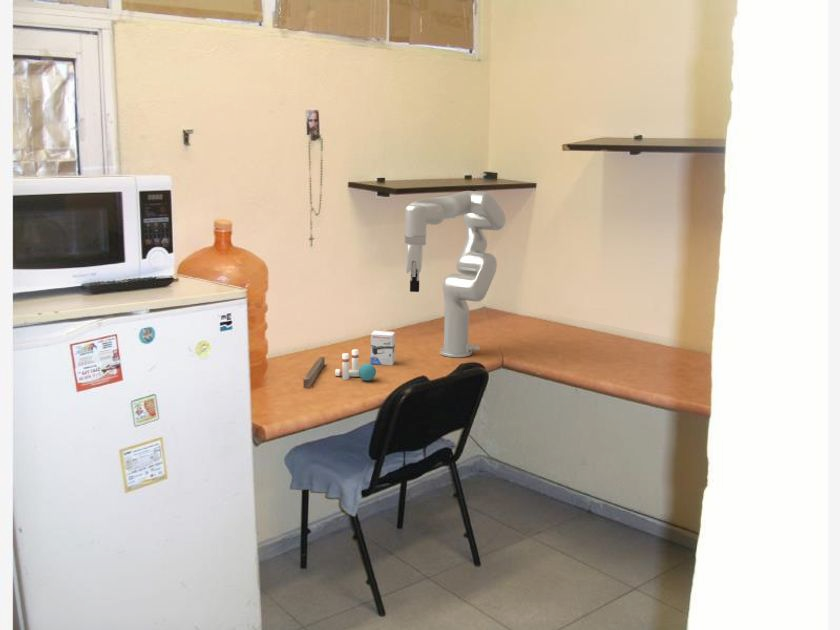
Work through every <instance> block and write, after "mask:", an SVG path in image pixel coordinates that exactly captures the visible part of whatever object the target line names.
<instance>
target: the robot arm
mask: <svg viewBox="0 0 840 630" xmlns="http://www.w3.org/2000/svg"><path fill="white" fill-rule="evenodd" d="M404 212H405V213H404V245H405V246H406V247H407V249H406V270H405V271H406V272H405V273H407V274H409V273H410V280H409V292H411V293H419V291H420V273H421V272H422V271H421V270H422V266H423V253H424V252H423V249H424V248H423V247H424V246H426V245H427V225H432V226H436V225H439V224H441V223H443V221H444V220H449V219H456V218H458V217H461V216H463V221H464V226H465V232H466V240H465V243H464V245H463V247H462V249H461V251H460V254H459V256H458V259H457V261H456V264H455V266H456V267H455V268H456V270H457V271H458V273H450V274H448V275H447V276H445V277H444V279H443V281H442V293H443V298H444V322H443V323H444V324H443V325H444V326H443V347H442V348H440V349H439V354H440V355H442V356H444V357H449V358H466V357H469V356H471V355H472V353H473V351H480V345H477V344H471V343H470V341H469V332H470V331H469V329H470V328H469V326H470V308H469V305H468V303H467V301H468V302H470V301H471V302H478V303H479V302H481V301H483V300H484V299H485V297H486V295H487V293H488V291H489V288H490V286H491V285H492V281H493V280H494V276H495V275H496V273H497V272H496V271H497V268H498V267H497V266H498V261H497V259H496V257H495V255H494V254H492V253H489V252H486V250H487V247H488V240H487V239H486V236H485V234H484V232H483V230H485V231H496V232H497V231H500V230H502V229H503V228H504V226H505V224H506V214H505V212H504V210H503V208H502V206H500V204H499V203H498V202H497V200H496V199H495V198H494V197H493V196H492V194H490V193H488V191H487V192H486V191H478V190H477V191H474V190H464V191H461V192H457V193H454V194H449V195H443V196H438V197H437V196H436V197H431V198H429V197H428V198H423V199H417V200H415V201H412V202H411V203H409V205H406V207H405V211H404Z"/></svg>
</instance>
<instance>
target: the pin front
mask: <svg viewBox="0 0 840 630" xmlns="http://www.w3.org/2000/svg"><path fill="white" fill-rule="evenodd" d="M334 371H335V372H334V376H335V377H342V368H340V369H339V368H336V369H335V370H334ZM350 377H351V378H354V377H355V378H361V377H360V376H359V370H352V369H349V378H350Z"/></svg>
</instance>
